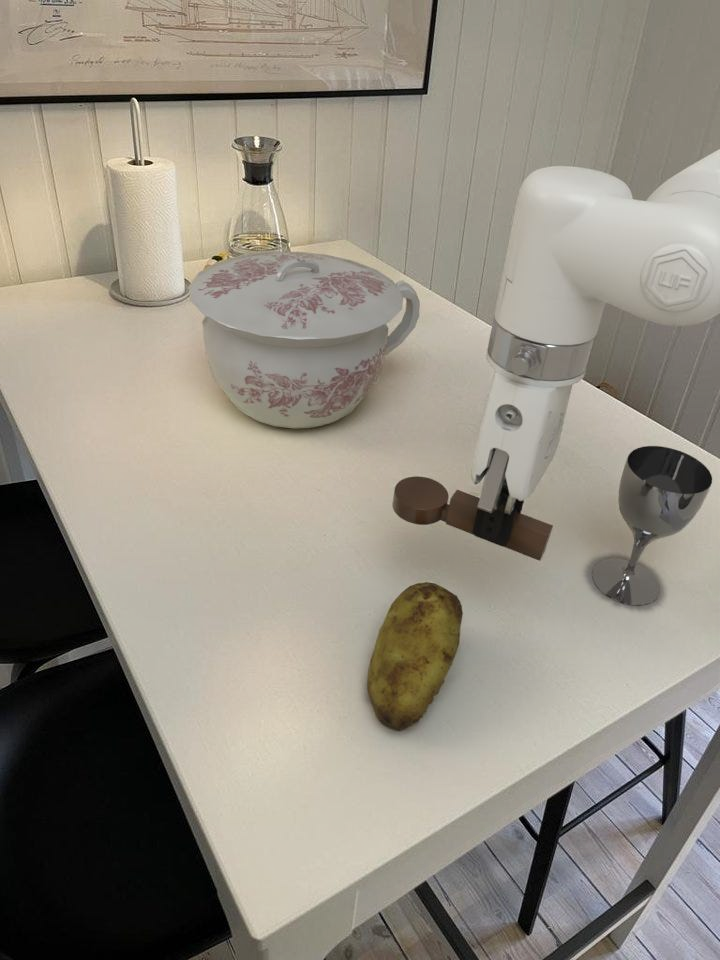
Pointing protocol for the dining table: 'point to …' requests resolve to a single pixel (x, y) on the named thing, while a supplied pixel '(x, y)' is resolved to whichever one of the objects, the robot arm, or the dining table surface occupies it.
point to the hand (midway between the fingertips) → (494, 531)
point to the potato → (413, 653)
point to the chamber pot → (299, 333)
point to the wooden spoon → (463, 514)
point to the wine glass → (651, 515)
